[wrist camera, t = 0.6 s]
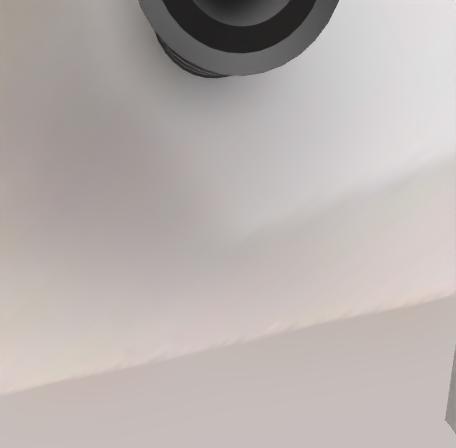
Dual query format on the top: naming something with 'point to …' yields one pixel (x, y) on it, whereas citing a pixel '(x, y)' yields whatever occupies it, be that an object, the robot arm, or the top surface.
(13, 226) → the top surface
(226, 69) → the french press
